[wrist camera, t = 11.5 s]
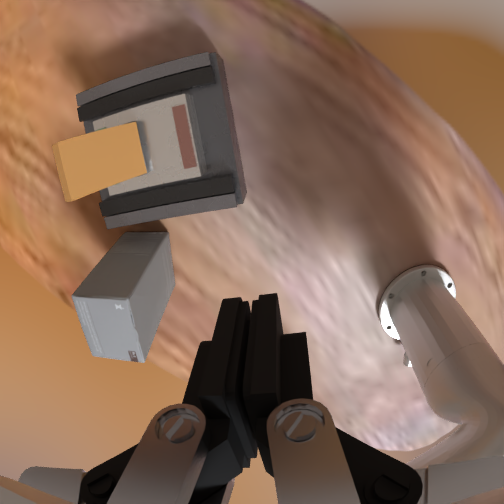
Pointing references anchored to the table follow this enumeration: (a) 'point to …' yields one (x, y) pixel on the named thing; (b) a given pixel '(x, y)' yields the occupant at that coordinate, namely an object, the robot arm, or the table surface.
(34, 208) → the table surface
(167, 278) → the skincare box
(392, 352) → the table surface
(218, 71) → the breaker box
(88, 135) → the breaker lever
